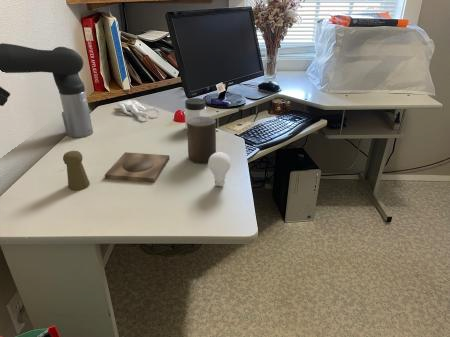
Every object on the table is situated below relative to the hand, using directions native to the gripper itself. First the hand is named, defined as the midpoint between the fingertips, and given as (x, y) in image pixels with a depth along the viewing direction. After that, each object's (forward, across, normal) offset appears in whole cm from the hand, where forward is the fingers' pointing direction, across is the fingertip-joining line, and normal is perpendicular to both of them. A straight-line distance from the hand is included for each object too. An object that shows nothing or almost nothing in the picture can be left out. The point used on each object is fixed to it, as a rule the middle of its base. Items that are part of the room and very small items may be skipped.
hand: (6, 100), depth 85 cm
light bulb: (+56, +16, +16) cm, 60 cm away
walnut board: (+41, -6, +4) cm, 42 cm away
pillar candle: (+56, -4, +20) cm, 60 cm away
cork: (+29, -3, -10) cm, 31 cm away
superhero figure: (+45, -60, +16) cm, 77 cm away
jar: (+60, -30, +28) cm, 72 cm away
